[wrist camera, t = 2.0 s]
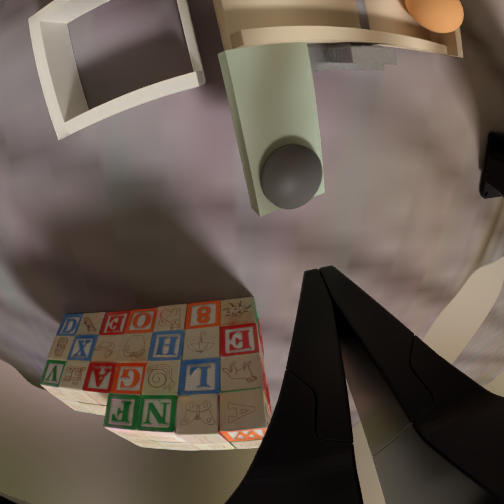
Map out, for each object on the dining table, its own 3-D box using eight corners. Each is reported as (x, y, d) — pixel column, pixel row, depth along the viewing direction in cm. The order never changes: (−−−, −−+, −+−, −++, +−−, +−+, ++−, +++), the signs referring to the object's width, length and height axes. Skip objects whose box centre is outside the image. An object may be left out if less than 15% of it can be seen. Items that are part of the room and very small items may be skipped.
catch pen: (179, -35, 9) (167, -53, 6) (206, 82, 14) (200, 85, 11) (56, 20, 9) (28, 18, 7) (83, 126, 14) (58, 140, 12)
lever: (411, -23, 8) (447, -25, 6) (427, 150, 17) (460, 164, 14) (190, -56, 5) (210, -90, 3) (250, 207, 14) (280, 237, 11)
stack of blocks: (91, 345, 29) (68, 433, 20) (64, 312, 25) (29, 409, 16) (263, 334, 28) (274, 448, 19) (255, 293, 25) (268, 431, 15)
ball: (421, -11, 8) (467, -11, 5) (430, 35, 10) (476, 41, 8) (386, -25, 7) (436, -30, 5) (397, 27, 10) (449, 29, 7)
